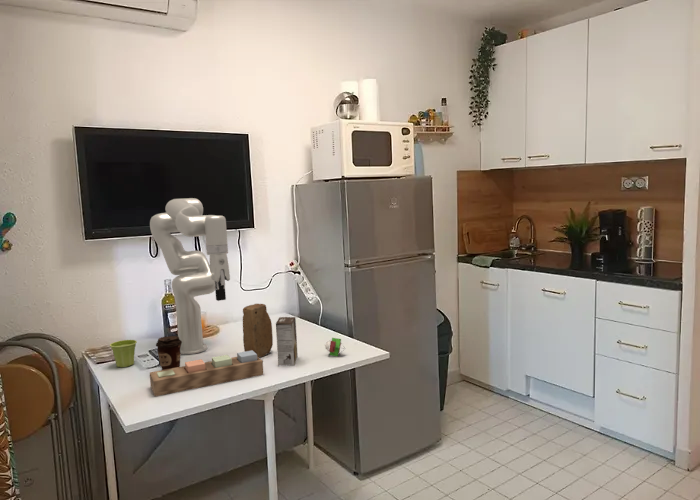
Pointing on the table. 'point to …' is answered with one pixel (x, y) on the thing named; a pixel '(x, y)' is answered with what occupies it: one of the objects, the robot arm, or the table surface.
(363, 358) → the table surface
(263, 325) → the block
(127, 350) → the plant pot
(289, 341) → the coffee box
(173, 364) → the coffee cup
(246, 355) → the slate button
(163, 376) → the button panel
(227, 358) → the sage button
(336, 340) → the geometric puzzle
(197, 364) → the terracotta button
